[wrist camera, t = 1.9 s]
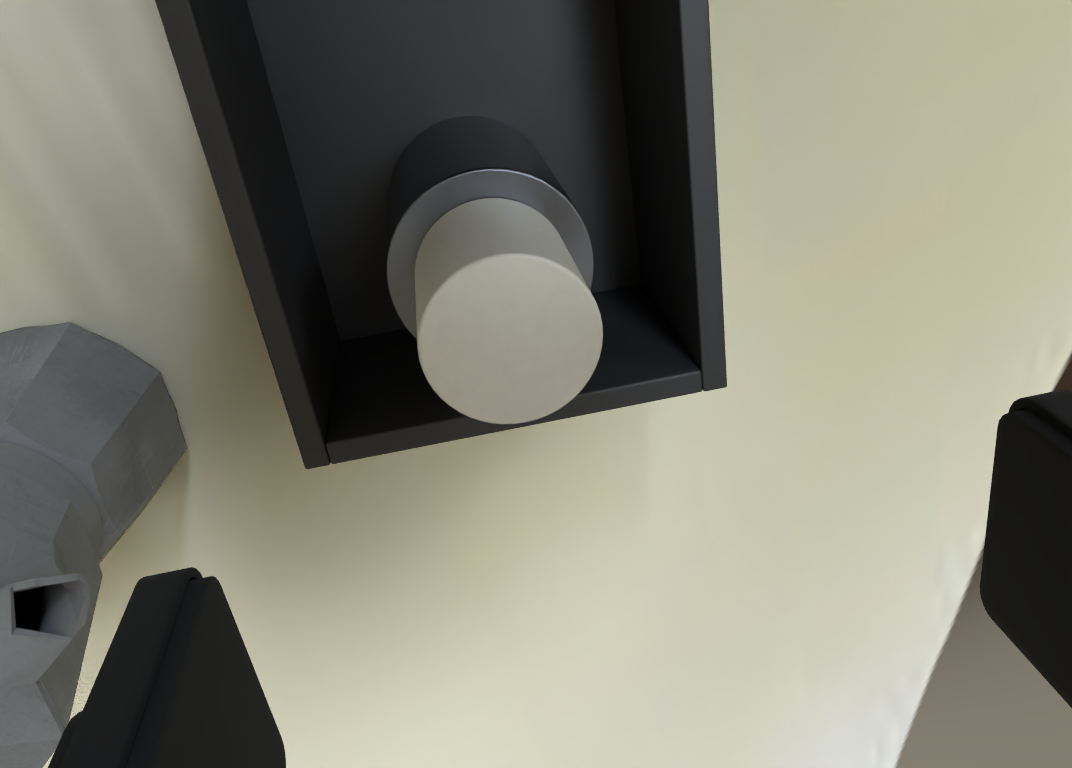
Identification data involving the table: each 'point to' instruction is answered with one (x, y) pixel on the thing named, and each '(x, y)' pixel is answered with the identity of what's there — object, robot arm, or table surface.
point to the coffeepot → (66, 510)
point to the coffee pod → (503, 313)
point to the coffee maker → (384, 133)
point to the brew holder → (470, 195)
